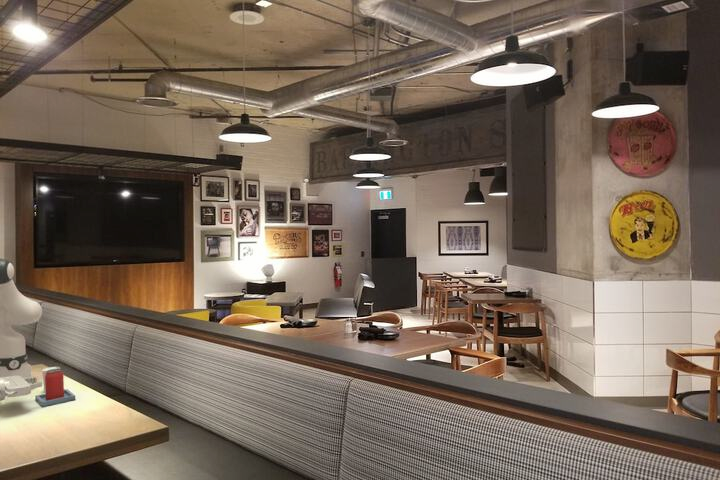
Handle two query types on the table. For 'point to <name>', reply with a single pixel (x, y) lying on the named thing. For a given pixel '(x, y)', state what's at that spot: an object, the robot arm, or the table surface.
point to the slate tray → (44, 403)
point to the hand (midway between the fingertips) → (39, 381)
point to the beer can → (54, 384)
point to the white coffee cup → (45, 374)
